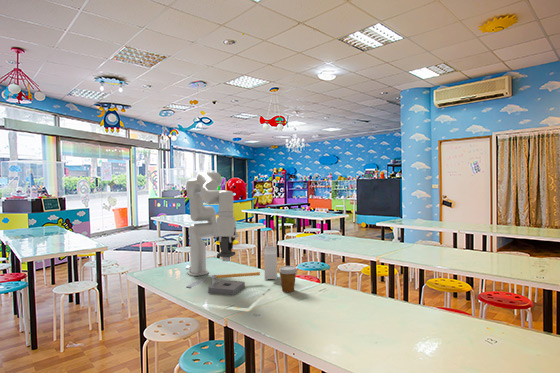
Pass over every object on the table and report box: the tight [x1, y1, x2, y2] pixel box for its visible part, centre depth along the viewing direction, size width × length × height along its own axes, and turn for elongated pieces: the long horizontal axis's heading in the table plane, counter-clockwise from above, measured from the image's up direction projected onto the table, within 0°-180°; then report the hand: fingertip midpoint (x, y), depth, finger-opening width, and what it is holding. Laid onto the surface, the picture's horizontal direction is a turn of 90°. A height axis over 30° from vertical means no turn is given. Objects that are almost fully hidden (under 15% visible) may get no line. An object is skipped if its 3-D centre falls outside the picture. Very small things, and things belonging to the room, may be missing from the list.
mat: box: [186, 278, 206, 289], centre depth 182 cm, size 14×14×1 cm
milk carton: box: [263, 245, 278, 281], centre depth 193 cm, size 7×7×19 cm
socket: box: [207, 278, 246, 296], centre depth 169 cm, size 17×14×6 cm
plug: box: [216, 237, 236, 262], centre depth 169 cm, size 7×7×12 cm
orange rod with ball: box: [211, 271, 261, 280], centre depth 177 cm, size 26×3×2 cm, turn 103°
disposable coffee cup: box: [278, 265, 298, 293], centre depth 170 cm, size 10×10×12 cm
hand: (226, 249), depth 169 cm, fingers closed on plug, 4 cm apart
